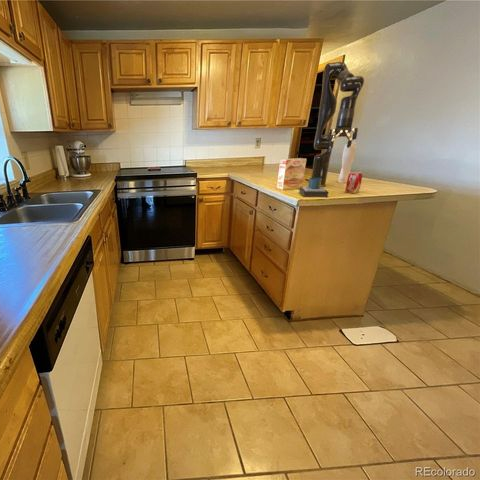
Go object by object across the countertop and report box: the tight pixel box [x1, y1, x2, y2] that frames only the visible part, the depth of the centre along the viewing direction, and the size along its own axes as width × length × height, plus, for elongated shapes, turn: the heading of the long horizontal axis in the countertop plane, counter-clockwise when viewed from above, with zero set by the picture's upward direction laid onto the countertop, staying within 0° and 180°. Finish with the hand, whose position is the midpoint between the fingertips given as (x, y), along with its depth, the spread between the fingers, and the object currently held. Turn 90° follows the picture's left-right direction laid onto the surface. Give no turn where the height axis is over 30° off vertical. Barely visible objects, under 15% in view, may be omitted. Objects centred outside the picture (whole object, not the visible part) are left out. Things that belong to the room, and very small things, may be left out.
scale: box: [299, 187, 330, 198], centre depth 160 cm, size 14×13×3 cm
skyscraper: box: [337, 141, 358, 184], centre depth 188 cm, size 8×8×28 cm
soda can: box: [344, 171, 363, 194], centre depth 159 cm, size 7×7×12 cm
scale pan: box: [302, 186, 326, 191], centre depth 159 cm, size 10×10×2 cm
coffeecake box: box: [276, 157, 307, 191], centre depth 177 cm, size 15×7×20 cm, turn 101°
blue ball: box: [307, 177, 322, 189], centre depth 158 cm, size 6×6×6 cm
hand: (339, 147), depth 155 cm, fingers open, 8 cm apart
